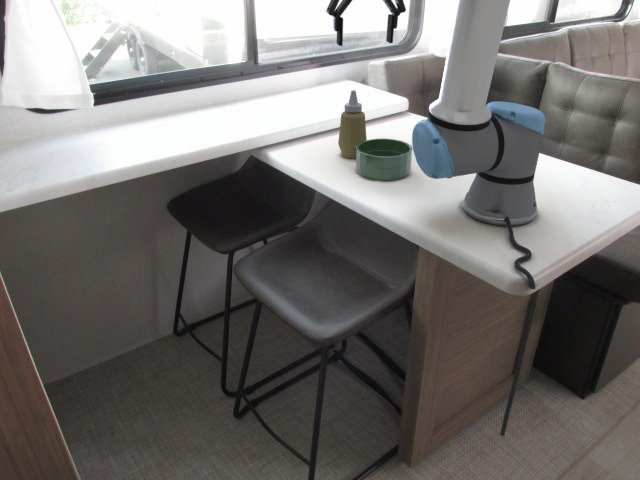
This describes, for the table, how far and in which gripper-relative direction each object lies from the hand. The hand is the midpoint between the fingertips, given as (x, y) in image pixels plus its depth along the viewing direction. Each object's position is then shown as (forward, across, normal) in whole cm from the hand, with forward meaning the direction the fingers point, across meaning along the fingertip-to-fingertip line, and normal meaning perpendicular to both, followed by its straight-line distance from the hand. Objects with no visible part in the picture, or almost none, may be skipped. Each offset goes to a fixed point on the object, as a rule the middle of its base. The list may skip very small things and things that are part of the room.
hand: (364, 43), depth 132 cm
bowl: (+28, -1, +17) cm, 33 cm away
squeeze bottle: (+29, +3, +3) cm, 30 cm away
